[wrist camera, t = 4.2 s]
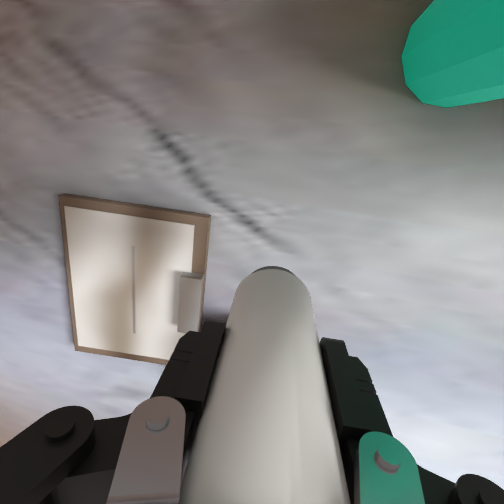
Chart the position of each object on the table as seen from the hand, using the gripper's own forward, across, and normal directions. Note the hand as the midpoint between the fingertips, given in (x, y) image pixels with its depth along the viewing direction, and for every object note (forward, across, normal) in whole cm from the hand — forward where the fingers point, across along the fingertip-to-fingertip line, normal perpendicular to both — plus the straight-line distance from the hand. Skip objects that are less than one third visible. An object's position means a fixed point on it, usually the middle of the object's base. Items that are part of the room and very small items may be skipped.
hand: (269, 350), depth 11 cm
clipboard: (+12, +10, +6) cm, 17 cm away
